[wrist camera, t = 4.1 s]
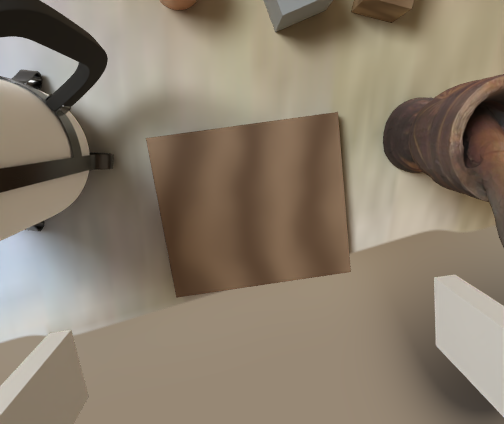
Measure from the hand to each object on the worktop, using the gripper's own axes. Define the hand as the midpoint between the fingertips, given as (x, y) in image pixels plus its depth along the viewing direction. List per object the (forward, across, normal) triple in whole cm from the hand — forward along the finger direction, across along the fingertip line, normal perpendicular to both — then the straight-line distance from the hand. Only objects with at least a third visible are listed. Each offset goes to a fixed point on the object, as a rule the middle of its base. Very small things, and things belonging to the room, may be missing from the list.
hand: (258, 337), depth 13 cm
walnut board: (+25, -1, 0) cm, 25 cm away
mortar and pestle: (+25, -18, -3) cm, 31 cm away
